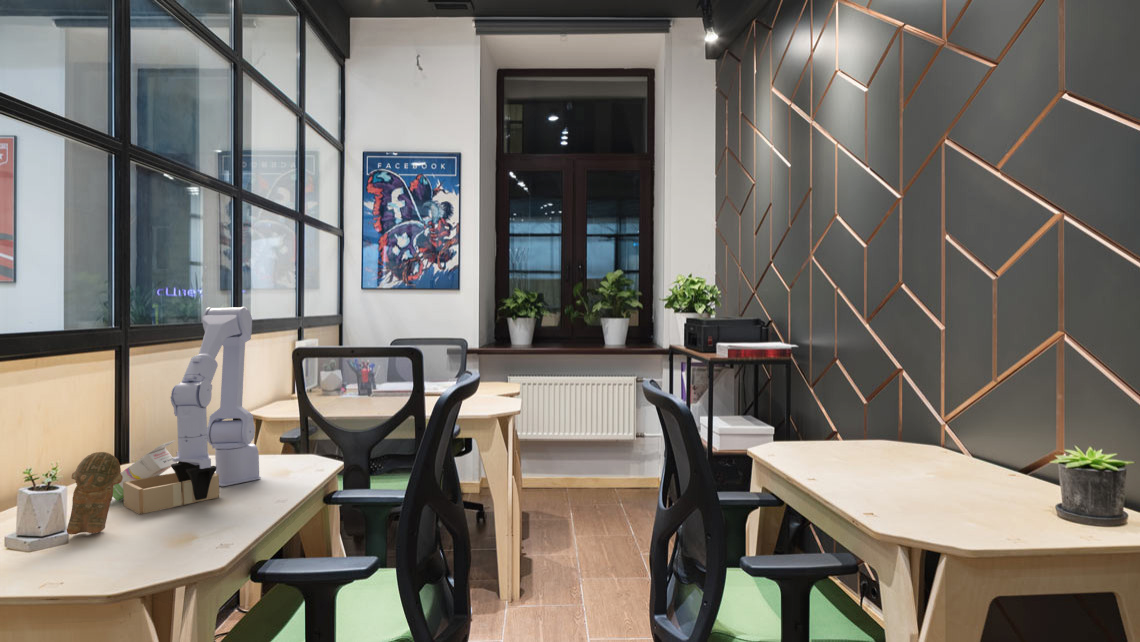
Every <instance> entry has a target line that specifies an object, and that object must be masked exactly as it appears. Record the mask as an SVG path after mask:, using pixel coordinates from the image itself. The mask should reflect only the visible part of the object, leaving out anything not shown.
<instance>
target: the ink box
mask: <svg viewBox="0 0 1140 642" xmlns="http://www.w3.org/2000/svg"><path fill="white" fill-rule="evenodd" d="M175 441H176V439H174V440H171V441H168V442H164V443H162V444H160V445H158V446H157V447H155V448H153V449H152V450H151V451H149V452H148V453H146V454H145V455H143V456H142V457H140V459H138V460H136V461H135V462H134V463H132V464H131V465H129V466H128V467H127V468H126V469H124V470H123V471H121V475H122V476H123V478H122V481H121V482H120V483H119V484H115V485H114V486H113V497H112V498H114V499H115V501H116V502H119V501H120V500H124V497H123V482H126V481H131V480H137V479H142V478H148V477H153V476H159V475H163V473H165V472H166V471H167V470H169V469H170V468H172V467H171V464H175V463H178V462H174V461H172V458H174V457H173V456H172V454H171V453H170V452H169V450H168V449H167V448H166V447H169V445H172V444H173V443H174V442H175Z"/></svg>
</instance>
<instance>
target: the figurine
mask: <svg viewBox="0 0 1140 642" xmlns="http://www.w3.org/2000/svg"><path fill="white" fill-rule="evenodd" d="M121 468H122V467H121V464H120V462H119V459H118V458H117V457H116V456H114V455H113V454H111V453H109V452H105V451H98V452H93V453H91V454H89V455H87V456H85V457H84V458H82V460H81V461H80V462H79V464H78V465H77V468H76V469H75V471H73V473H72V474H71V479H72V480H75V485H76V486H75V488H74V491H73V493H72V505H71V512H70V517H69V519H68V524H67V527H66V533H67V534H68V535H77V534H82V533H89V534H99V533H101V532H102V531H104V530H105V528H106V524H107V519H108V514H109V510H110V505H111V504H112V503H111V502H112V500H113V498H114V497H113V486H114V485H115V484H119V483H120V482H121V481H122V478H123V476H122V475H121V472H122V470H121Z"/></svg>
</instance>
